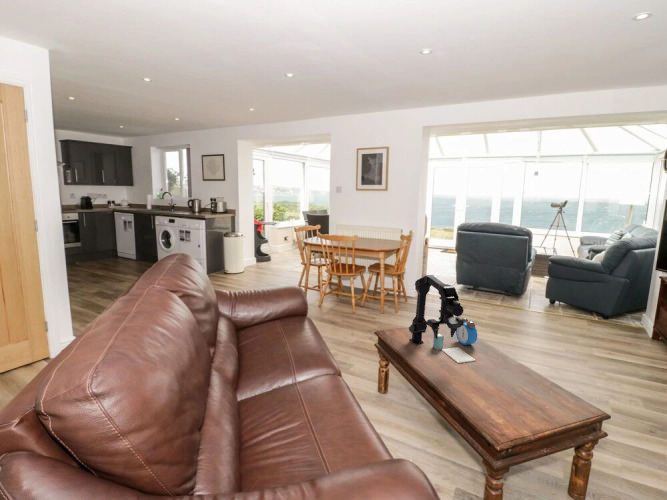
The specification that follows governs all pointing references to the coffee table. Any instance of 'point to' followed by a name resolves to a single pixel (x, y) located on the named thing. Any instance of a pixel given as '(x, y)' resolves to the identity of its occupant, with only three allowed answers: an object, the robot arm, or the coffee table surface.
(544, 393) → the coffee table surface
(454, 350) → the mat
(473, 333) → the alarm clock
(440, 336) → the block
